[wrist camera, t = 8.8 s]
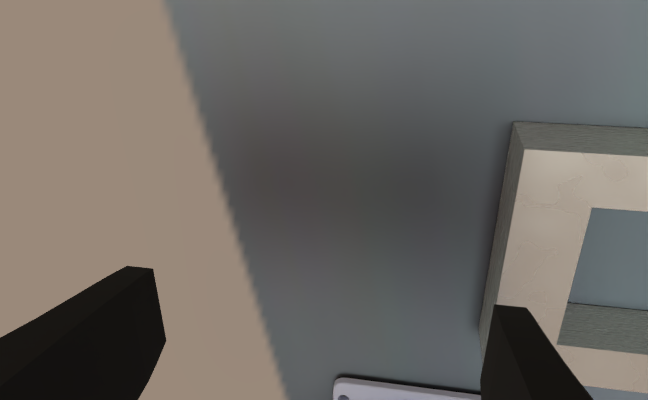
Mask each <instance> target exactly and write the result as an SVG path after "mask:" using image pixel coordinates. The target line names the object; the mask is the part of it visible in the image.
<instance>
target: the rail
mask: <svg viewBox="0 0 648 400" xmlns="http://www.w3.org/2000/svg"><path fill="white" fill-rule="evenodd" d="M592 207H593V208H607V209H620V210H633V211H647V212H648V128H629V127H610V126H591V125H572V124H553V123H534V122H515V121H513V126H512V132H511V138H510V144H509V150H508V156H507V162H506V168H505V174H504V180H503V186H502V192H501V198H500V204H499V210H498V215H497V221H496V227H495V233H494V239H493V245H492V251H491V257H490V263H489V269H488V275H487V281H486V287H485V293H484V299H483V305H482V311H481V317H480V322H479V337H480V346H481V354H482V363H484V357H485V352H486V346H487V341H488V335H489V329H490V324H491V318H492V313H493V307H494V304H497V305H507V306H516V307H526V308H527V309H528V310H529V311H530V312H531V314H532V315H533V317H534V318H535V320H536V321H537V323H538V324H539V326H540V327H541V329H542V330H543V332H544V333H545V335H546V336H547V338H548V339H549V340H550V342H551V343H552V345H553V346H554V348H555V349H556V350H557V352H558V353H559V355H560V356H561V358H562V359H563V360H564V362H565V363H566V364H567V366H568V367H569V368H570V370H571V371H572V373H573V374H574V375H575V376H576V378H577V379H578V380H579V382H580V383H581V384H582V385H584V386H592V387H600V388H609V389H617V390H625V391H633V392H641V393H648V311H641V310H632V309H622V308H612V307H602V306H592V305H582V304H573V303H567V301H568V298H569V294H570V290H571V286H572V282H573V278H574V275H575V271H576V267H577V263H578V259H579V255H580V251H581V248H582V244H583V240H584V236H585V232H586V228H587V225H588V221H589V217H590V213H591V209H592Z"/></svg>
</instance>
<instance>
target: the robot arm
mask: <svg viewBox="0 0 648 400" xmlns="http://www.w3.org/2000/svg"><path fill="white" fill-rule="evenodd" d="M165 342H166V337H165V332H164V326H163V321H162V315H161V310H160V304H159V299H158V294H157V288H156V283H155V277H154V272H153V269H150V268H141V267H132V266H126V267H124V268H122V269H120V270H119V271H116V272H115V273H113V274H111V275H109V276H107V277H106V278H104V279H102V280H101V281H99V282H97V283H95V284H94V285H92V286H91V287H89V288H87V289H85V290H84V291H82V292H81V293H79V294H77V295H75V296H74V297H72V298H70V299H68V300H67V301H65V302H63V303H62V304H60V305H58V306H56V307H55V308H53V309H51V310H50V311H48V312H46V313H44V314H43V315H41V316H39V317H38V318H36V319H34V320H32V321H31V322H28V323H27V324H25V325H23V326H21V327H19V328H17V329H16V330H14V331H12V332H10V333H8V334H7V335H5V336H3V337H1V338H0V400H138V398H139V397H140V395H141V393H142V392H143V390H144V388H145V386H146V385H147V383H148V381H149V379H150V377H151V375H152V372H153V370H154V368H155V366H156V364H157V361H158V359H159V357H160V354H161V352H162V349H163V347H164V345H165ZM480 384H481V395H475V394H468V393H460V392H452V391H445V390H437V389H429V388H422V387H414V386H406V385H398V384H391V383H383V382H375V381H368V380H360V379H352V378H338V379H337V380H336V381H335V383H334V387H333V400H593V398H592V397H591V396H590V395H589V393H588V392H587V391H586V389H585V388H584V387H583V385H582V384H581V383H580V382H579V380H578V379H577V378H576V376H575V375H574V374H573V373H572V371H571V370H570V368H569V367H568V366H567V364H566V363H565V362H564V360H563V359H562V358H561V356H560V355H559V353H558V352H557V350H556V349H555V348H554V346H553V345H552V343H551V342H550V340H549V339H548V338H547V336H546V335H545V333H544V332H543V330H542V329H541V327H540V326H539V324H538V323H537V321H536V320H535V318H534V317H533V315H532V314H531V312H530V311H529V310H528V309H527V308H526V307H516V306H507V305H497V304H494V307H493V313H492V318H491V324H490V329H489V335H488V341H487V346H486V352H485V357H484V363H483V368H482V374H481V379H480ZM342 395H345V396H346V397H344V396H342Z"/></svg>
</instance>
